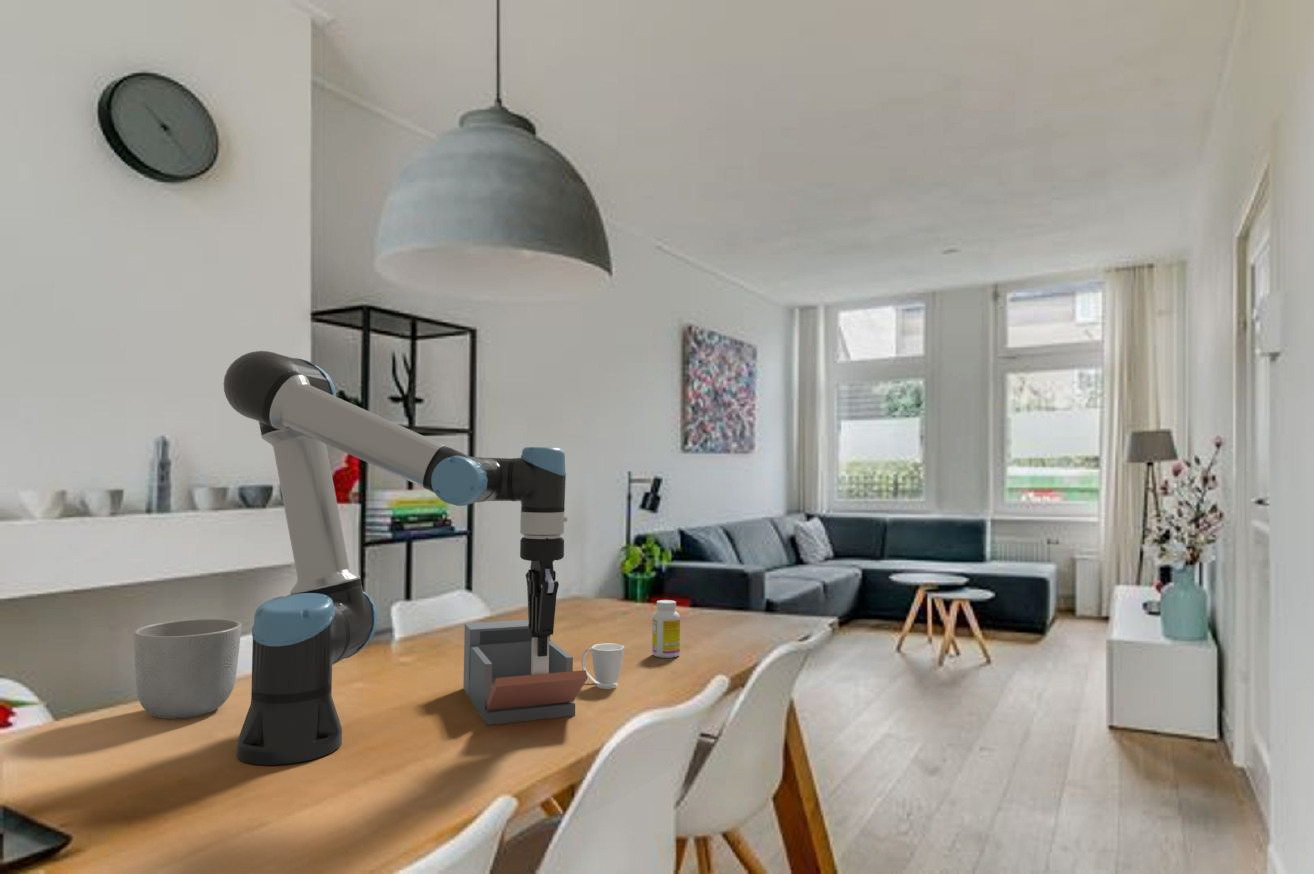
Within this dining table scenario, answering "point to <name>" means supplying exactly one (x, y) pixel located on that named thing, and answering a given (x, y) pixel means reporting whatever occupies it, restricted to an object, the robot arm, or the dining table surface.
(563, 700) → the panel
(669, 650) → the supplement bottle
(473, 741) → the dining table surface
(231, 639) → the planter
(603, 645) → the cup
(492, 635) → the grey box shell
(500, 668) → the grey drop-front box
